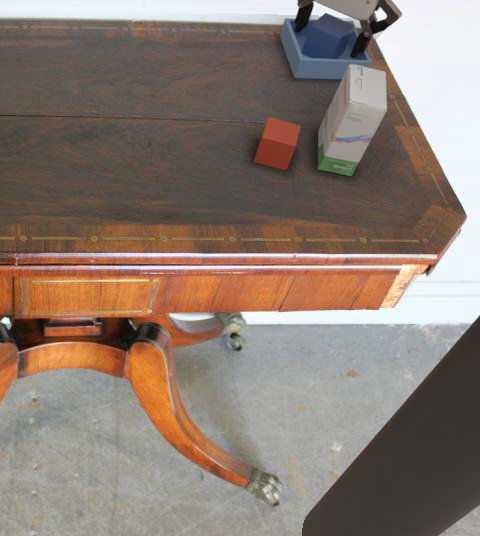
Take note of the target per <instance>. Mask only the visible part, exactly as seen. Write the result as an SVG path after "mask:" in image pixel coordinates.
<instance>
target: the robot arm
mask: <svg viewBox="0 0 480 536" xmlns="http://www.w3.org/2000/svg"><path fill="white" fill-rule="evenodd" d="M314 3H316V4H319V5H321V6H323V7H326V8H328V9H331V10H333V11H334V12H337V13H339V14H342V15H344V16H346V17H349V18H352V19H354V20H357V21H358V22H359V25H360V28H361V30H362V31H361V32H360V33H359V35H358V37H357V40H356V42H355V45H354V47H353V49H352V52H351V54H350V56H351V58H353V59H354V58H355V57H356V56H357V55H358V54H359V53H364V52H365V50H368V48H369V44H370V42H371V39H372V38H373V35H376V34H378V33H381V32H384V31H386V30H387V29H388V28H389V27H391V26H392V25H393V24H394V23H396V22H397V21H398V20H399V19H400V18H401V17H402V16H403V12H402V11H401V10H400V8H399V7H398V6H397V5H396V4H395V3H394V1H393V0H297V3H296V4H297V7H298V10H297V12H296V15H295V18H294V19H295V23H296V27H295V30H294V32H296V33H298V32H300V31H301V30H303V29H304V28H305V27H306V26H307V24H308V21H309V19H311V15H312V12H313V9H314V7H315V4H314ZM380 9H381V10H382V11H383V13H385V15H386V17H385V18H383V19H381V20H378V17H377V15H376V12H378V11H379V10H380Z"/></svg>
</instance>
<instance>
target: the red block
mask: <svg viewBox="0 0 480 536" xmlns="http://www.w3.org/2000/svg"><path fill="white" fill-rule="evenodd" d="M301 127H302V126H301V125H300V124H296V123H292V122H289V121H284V120H281V119H278V118H274V117H269V116H268V117H267V119H266V122H265V124H264V127H263V131H262V133H261V136H260V139H259V143H258V146H257V149H256V153H255V156H254V160H253V162H254V163H255V164H259V165H264V166H267V167H271V168H274V169H278V170H281V171H284V172H285V171H287V170H288V169H289V168H288V167H289V165H290V162H291V160H292V157H293V156H294V153H295V150H296V147H297V143H298V139H299V135H300V132H301Z"/></svg>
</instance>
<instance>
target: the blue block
mask: <svg viewBox="0 0 480 536" xmlns="http://www.w3.org/2000/svg"><path fill="white" fill-rule="evenodd" d="M316 20H317V21H315V22H314V23H313V24H312V25H311V26H310V29H309V32H308V35H307V38H306V40H305V43H304V46H303V49H302V52H301V53H302V54H303V55H305V56H307V57H310V58H321V59H338V58H339V57H340V56H341V55H342V54H343V53H344V50H345V48H346V46H347V43H348V41H349V38H350V36H351V33H352V31H353V28H354V25H352V24H350V23H348V22H345V21H346V20H344V19H341V18H339V17H336V16H334V15H332V14H330V13H327V12H325V13H324V14H322V15H321V16H320V17H319V18H318V19H316Z"/></svg>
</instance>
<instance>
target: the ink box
mask: <svg viewBox="0 0 480 536" xmlns="http://www.w3.org/2000/svg"><path fill="white" fill-rule="evenodd" d="M387 94H388V93H387V72H386V70H382V69H377V68H372V67H370V68H369V67H364V66H359V65H355V64H351V65H349V66H348V68H347V70H346V72H345V74H344V76H343V79H342V80H340V83H339V85H338V87H337V89H336V92H335V94H334V96H333V98H332V100H331V102H330V105H329V106H328V109H327V111H326V113H325V114H324V115H325V116H324V117H323V120H322V122H321V124H320V126H319V128H318V131H317V132H318V133H317V134H318V137H317V139H318V140H317V167H316V169H317V170H318V171H324V172H328V173H334V174H338V175H342V176H347V177H352V176H353V175H354V173H355V171H356V169H357V167H358V165H359V164H360V162H361V159H362V158H363V156H364V155H365V152H366V151H367V148H368V147H369V145H370V143H371V141H372V140H373V137H374V136H375V134H376V132H377V130H378V129H379V126H380V125H381V123H382V121H383V119H384V117H385V115H386V113H387V112H388V101H387V99H388V98H387V97H388V96H387Z"/></svg>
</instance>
